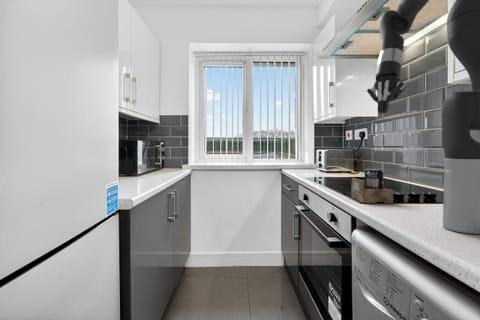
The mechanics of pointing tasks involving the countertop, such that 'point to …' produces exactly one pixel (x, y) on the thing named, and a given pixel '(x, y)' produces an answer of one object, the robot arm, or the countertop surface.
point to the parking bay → (370, 193)
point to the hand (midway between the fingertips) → (382, 112)
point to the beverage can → (373, 179)
